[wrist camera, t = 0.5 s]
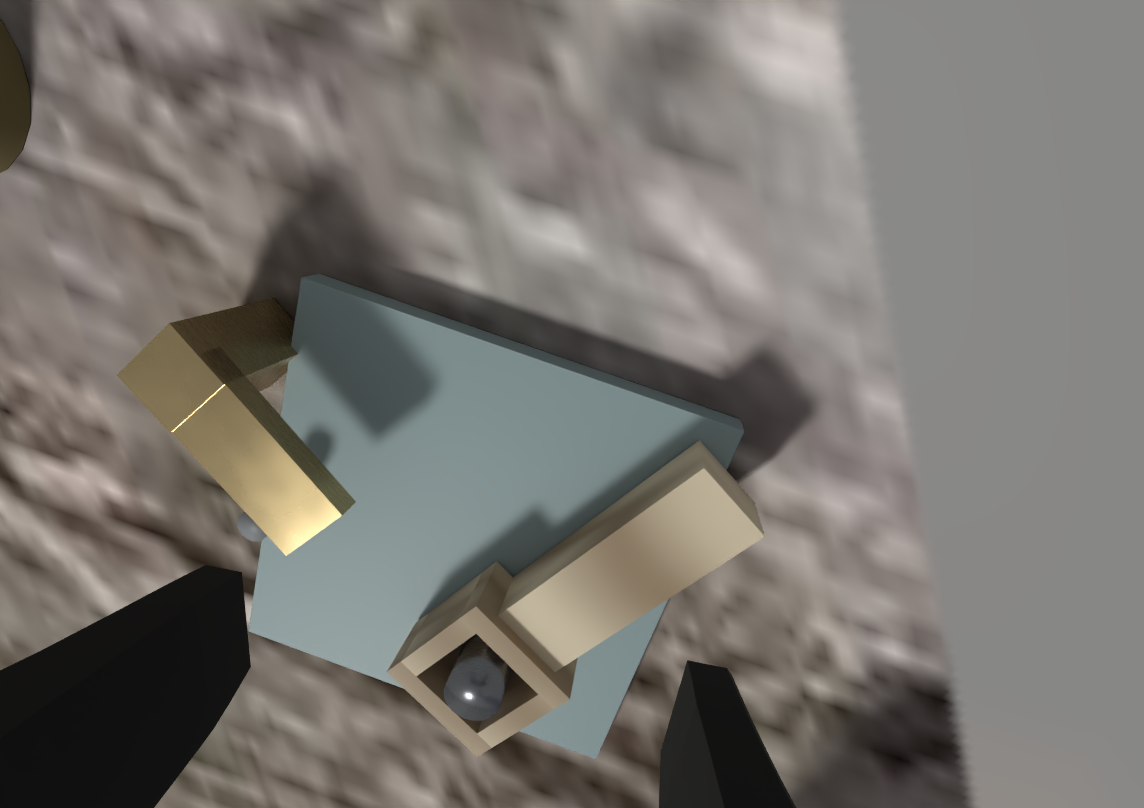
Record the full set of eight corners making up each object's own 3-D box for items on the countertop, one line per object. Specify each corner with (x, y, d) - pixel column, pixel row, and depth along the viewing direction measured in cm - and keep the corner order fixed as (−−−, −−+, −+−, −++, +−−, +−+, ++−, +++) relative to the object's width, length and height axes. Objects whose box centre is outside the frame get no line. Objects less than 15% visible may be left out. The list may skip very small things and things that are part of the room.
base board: (598, 736, 23) (588, 818, 20) (264, 614, 24) (205, 675, 21) (740, 419, 19) (756, 462, 15) (319, 273, 19) (252, 287, 16)
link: (496, 700, 22) (477, 756, 20) (415, 622, 21) (386, 672, 19) (770, 520, 18) (786, 565, 16) (682, 420, 18) (685, 452, 15)
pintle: (520, 640, 22) (492, 728, 19) (475, 624, 22) (437, 708, 19) (534, 603, 22) (507, 686, 18) (487, 586, 22) (450, 665, 18)
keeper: (228, 340, 20) (116, 375, 16) (273, 298, 19) (169, 323, 15) (358, 488, 21) (285, 556, 17) (405, 453, 21) (341, 516, 16)
